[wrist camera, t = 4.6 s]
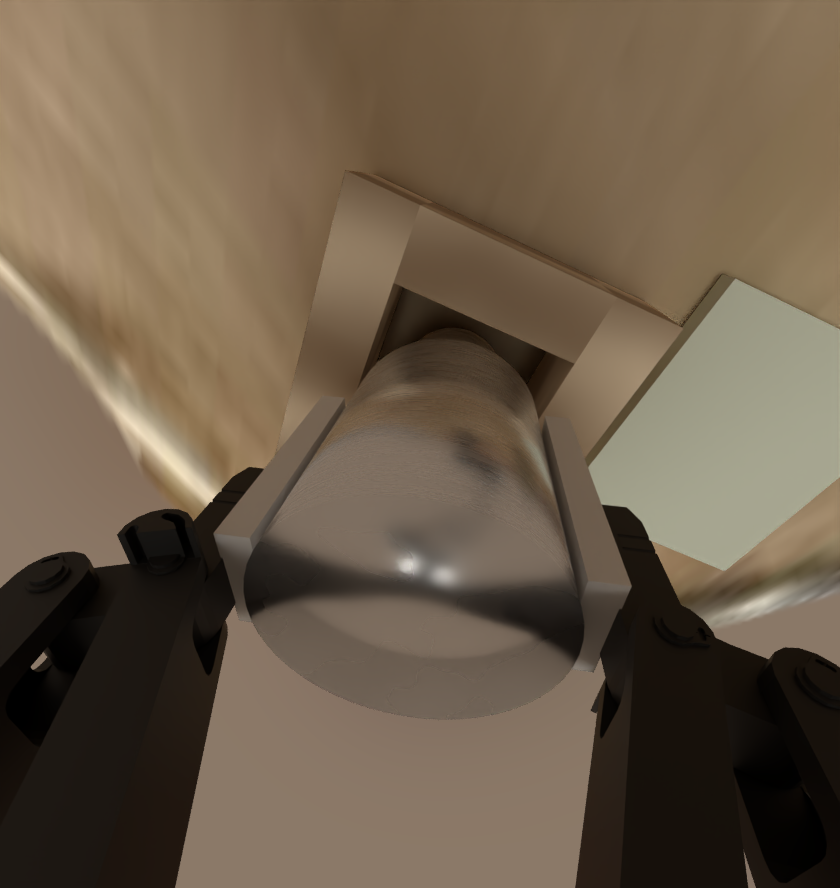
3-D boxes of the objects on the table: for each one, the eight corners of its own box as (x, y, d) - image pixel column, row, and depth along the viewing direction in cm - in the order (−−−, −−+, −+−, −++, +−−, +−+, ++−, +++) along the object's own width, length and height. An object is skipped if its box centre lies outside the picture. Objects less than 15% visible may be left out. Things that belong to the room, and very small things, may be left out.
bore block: (374, 174, 16) (345, 170, 13) (644, 301, 17) (683, 328, 14) (305, 421, 23) (273, 462, 19) (506, 503, 24) (510, 556, 20)
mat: (722, 274, 16) (735, 278, 16) (930, 374, 17) (953, 384, 16) (557, 491, 23) (560, 503, 22) (716, 557, 24) (724, 571, 23)
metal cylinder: (381, 297, 18) (208, 474, 7) (537, 308, 17) (632, 521, 6) (382, 431, 21) (270, 694, 10) (513, 444, 20) (545, 738, 9)
